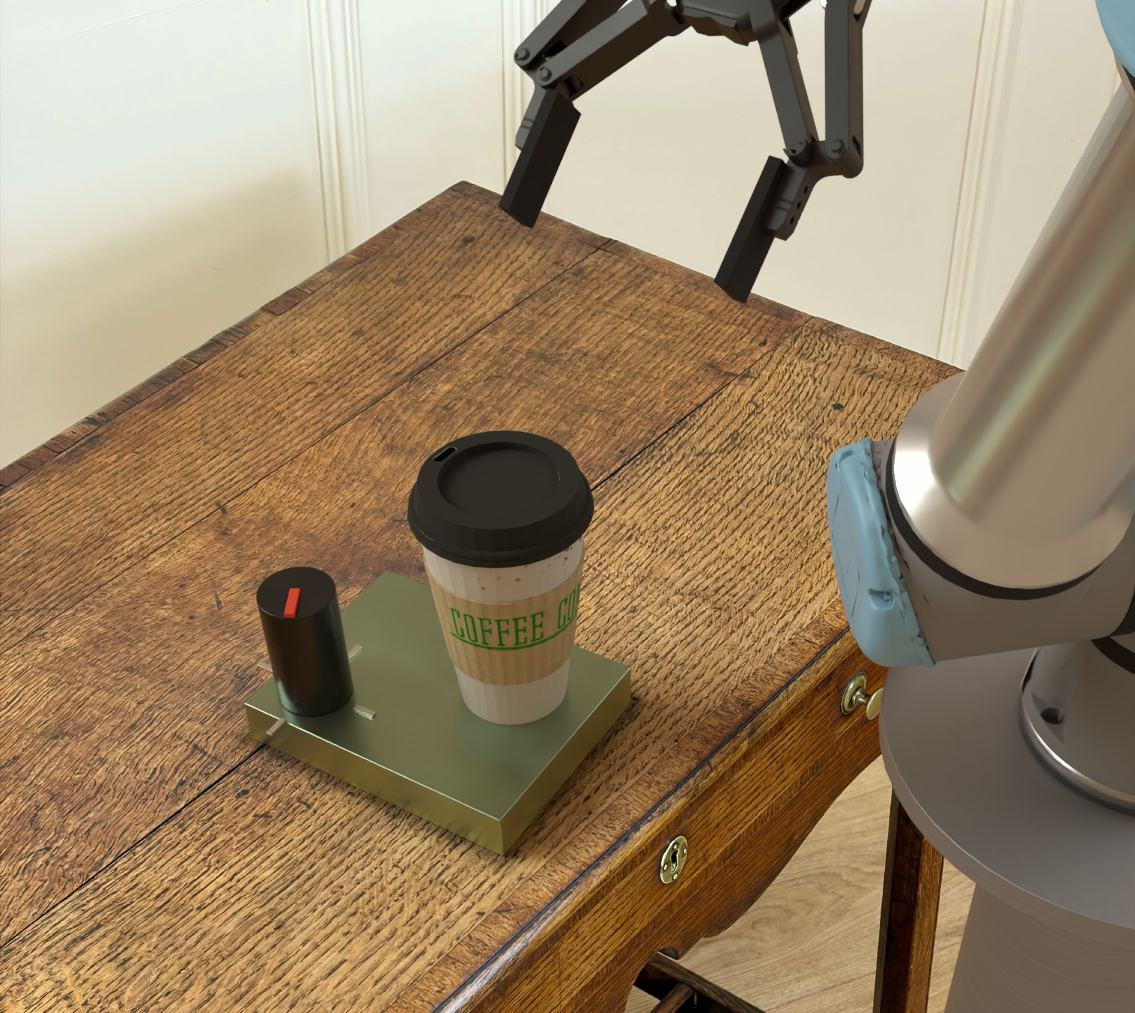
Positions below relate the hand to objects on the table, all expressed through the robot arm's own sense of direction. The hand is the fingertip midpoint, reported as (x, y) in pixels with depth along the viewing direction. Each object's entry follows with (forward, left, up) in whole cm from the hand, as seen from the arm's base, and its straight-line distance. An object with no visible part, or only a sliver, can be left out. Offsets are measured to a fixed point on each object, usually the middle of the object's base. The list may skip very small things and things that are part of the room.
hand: (618, 254), depth 82 cm
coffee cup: (+1, +11, -23) cm, 25 cm away
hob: (+5, +13, -26) cm, 29 cm away
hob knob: (+11, +17, -23) cm, 30 cm away
